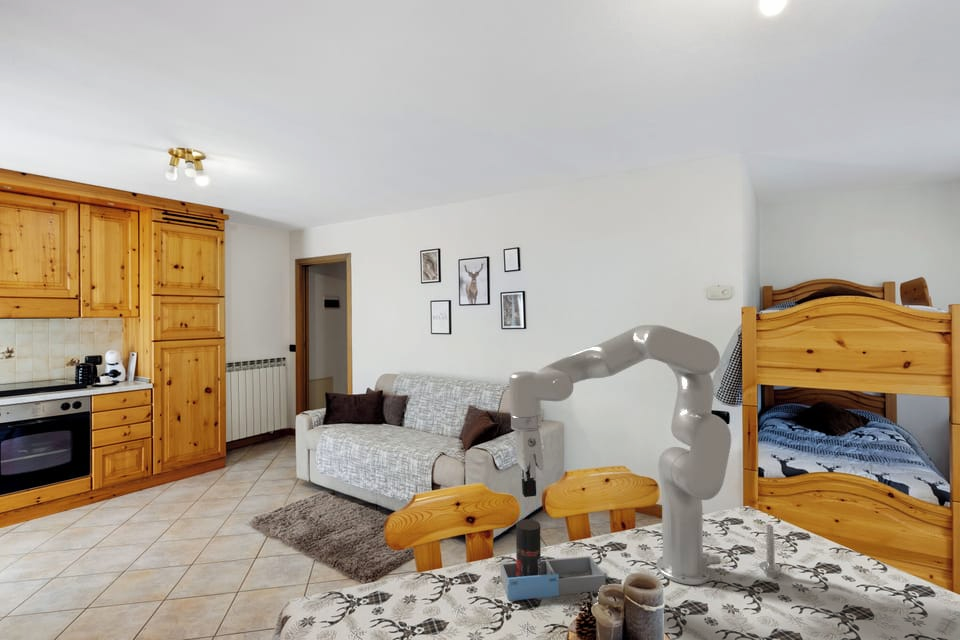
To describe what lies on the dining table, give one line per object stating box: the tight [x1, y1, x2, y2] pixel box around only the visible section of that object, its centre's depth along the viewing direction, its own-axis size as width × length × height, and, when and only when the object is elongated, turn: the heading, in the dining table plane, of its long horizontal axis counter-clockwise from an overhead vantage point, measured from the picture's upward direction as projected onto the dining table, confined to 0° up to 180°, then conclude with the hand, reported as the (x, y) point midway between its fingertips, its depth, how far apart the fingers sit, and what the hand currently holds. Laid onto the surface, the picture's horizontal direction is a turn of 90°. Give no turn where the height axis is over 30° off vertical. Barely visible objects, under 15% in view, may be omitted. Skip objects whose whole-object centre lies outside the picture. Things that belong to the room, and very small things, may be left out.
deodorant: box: [515, 518, 542, 577], centre depth 110 cm, size 6×6×15 cm
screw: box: [758, 523, 783, 579], centre depth 114 cm, size 13×5×5 cm
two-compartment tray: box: [499, 555, 606, 602], centre depth 111 cm, size 24×10×5 cm, turn 98°
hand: (529, 495), depth 112 cm, fingers closed
